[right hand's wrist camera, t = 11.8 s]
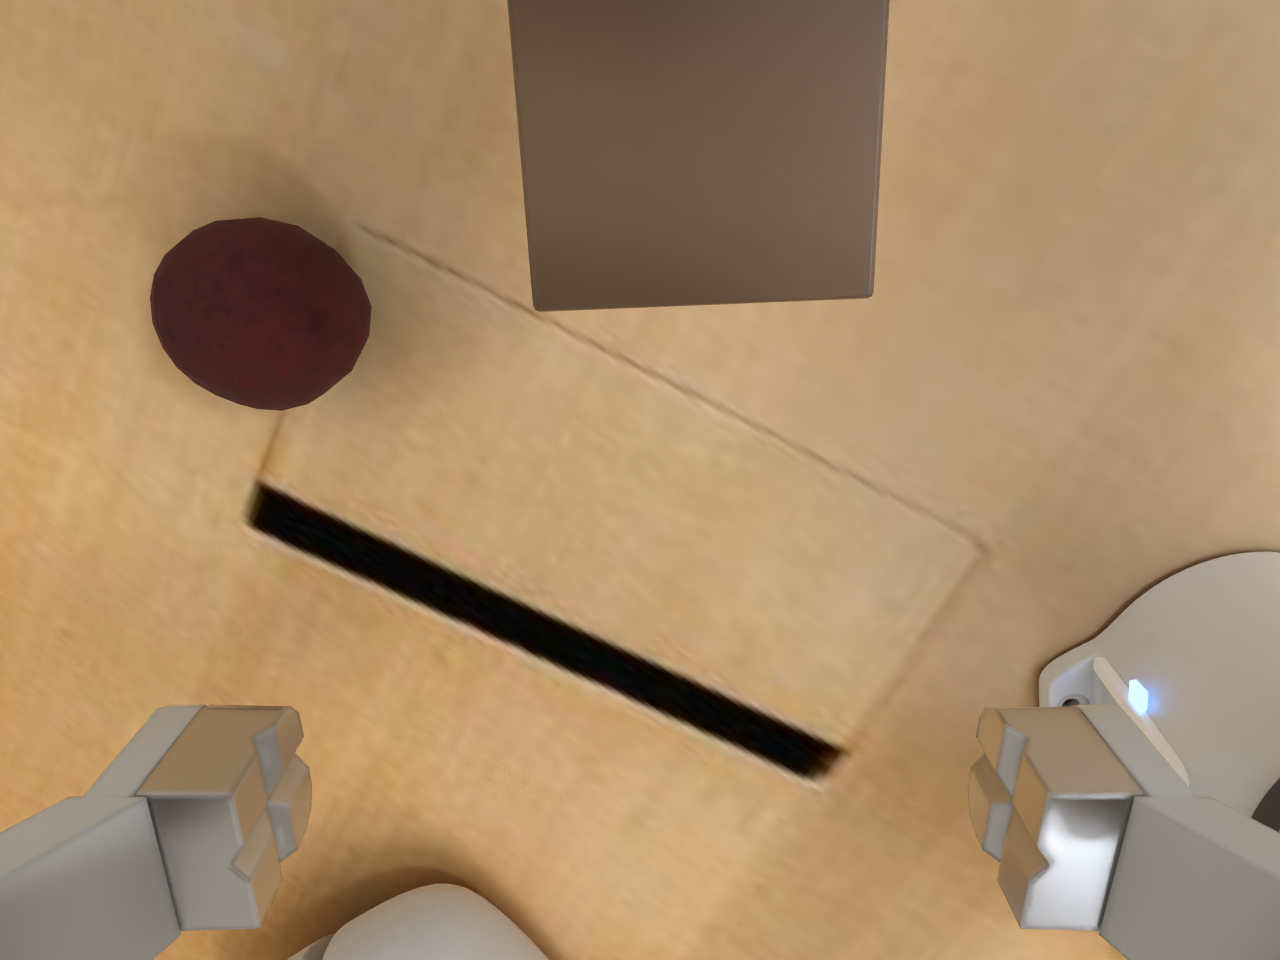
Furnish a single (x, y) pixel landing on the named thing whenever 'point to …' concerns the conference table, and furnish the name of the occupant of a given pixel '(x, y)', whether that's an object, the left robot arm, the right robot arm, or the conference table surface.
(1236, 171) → the conference table surface
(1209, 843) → the right robot arm
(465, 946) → the white rounded device
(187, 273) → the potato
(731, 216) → the bar
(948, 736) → the conference table surface
